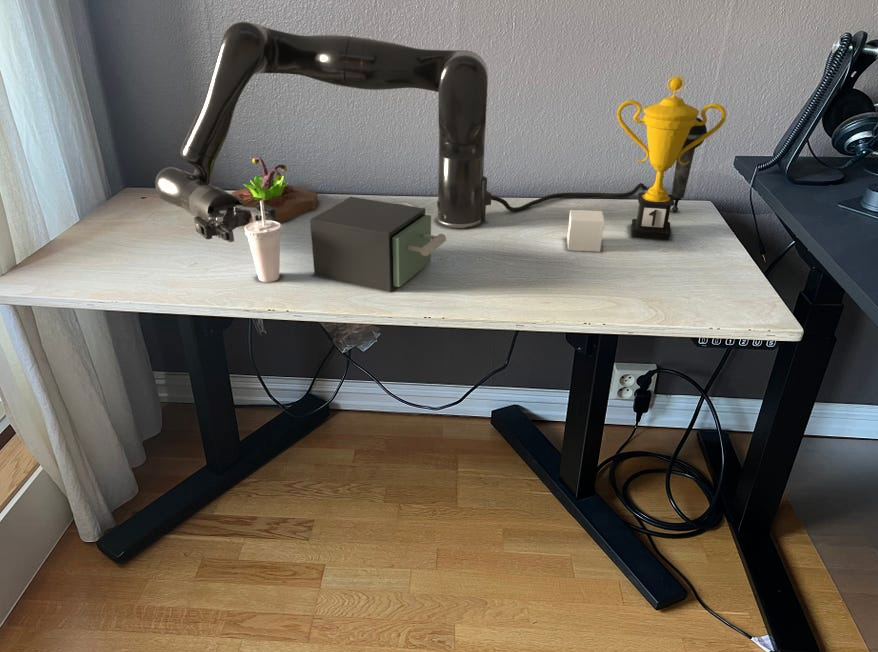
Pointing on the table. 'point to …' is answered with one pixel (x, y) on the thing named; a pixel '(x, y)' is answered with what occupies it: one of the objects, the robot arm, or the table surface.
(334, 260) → the cabinet
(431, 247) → the drawer
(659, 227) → the trophy
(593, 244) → the off-white cube
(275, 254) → the smoothie
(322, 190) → the table surface
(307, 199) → the plant
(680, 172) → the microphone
